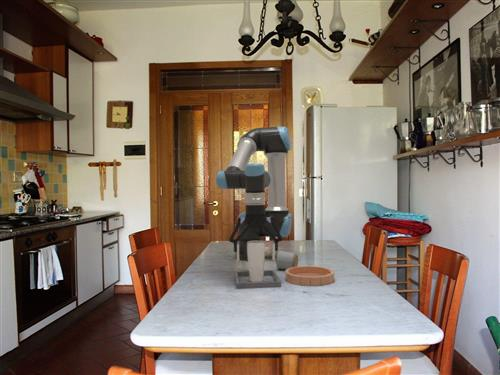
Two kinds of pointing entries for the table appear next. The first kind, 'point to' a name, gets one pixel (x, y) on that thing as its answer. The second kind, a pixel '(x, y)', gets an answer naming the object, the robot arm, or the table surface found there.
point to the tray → (257, 284)
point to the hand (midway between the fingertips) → (256, 260)
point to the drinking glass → (256, 260)
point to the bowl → (309, 275)
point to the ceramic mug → (286, 260)
